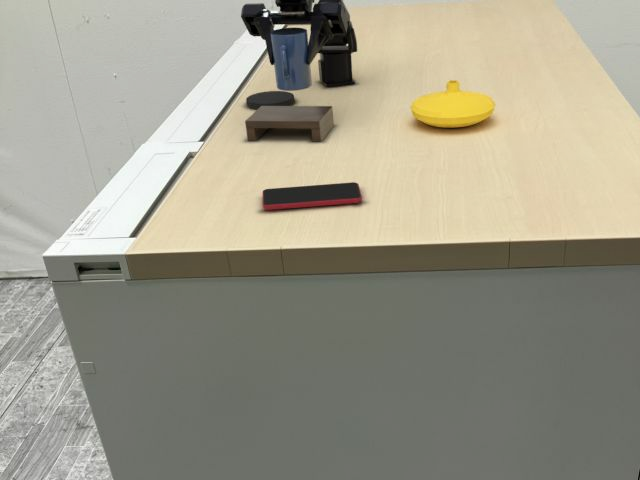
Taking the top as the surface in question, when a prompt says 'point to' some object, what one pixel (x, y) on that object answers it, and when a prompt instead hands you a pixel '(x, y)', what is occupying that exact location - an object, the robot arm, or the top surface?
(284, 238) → the top surface
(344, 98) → the top surface
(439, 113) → the vase
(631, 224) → the top surface
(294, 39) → the mug
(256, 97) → the coaster
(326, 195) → the smartphone
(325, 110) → the shelf
